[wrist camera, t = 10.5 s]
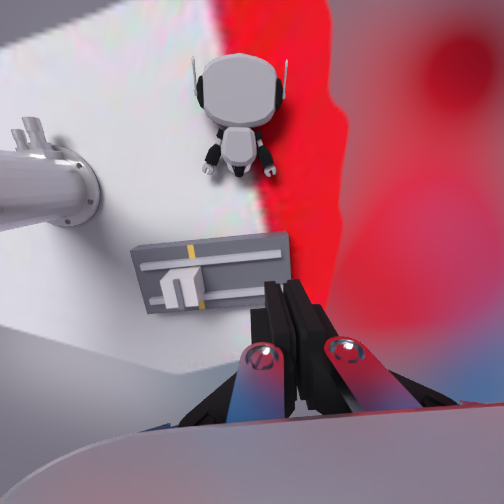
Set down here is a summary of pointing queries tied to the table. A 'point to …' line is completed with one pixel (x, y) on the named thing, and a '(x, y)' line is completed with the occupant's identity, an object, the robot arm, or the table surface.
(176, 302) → the fader tab
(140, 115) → the table surface
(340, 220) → the table surface
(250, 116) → the robot toy
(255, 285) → the grey slider rail base
